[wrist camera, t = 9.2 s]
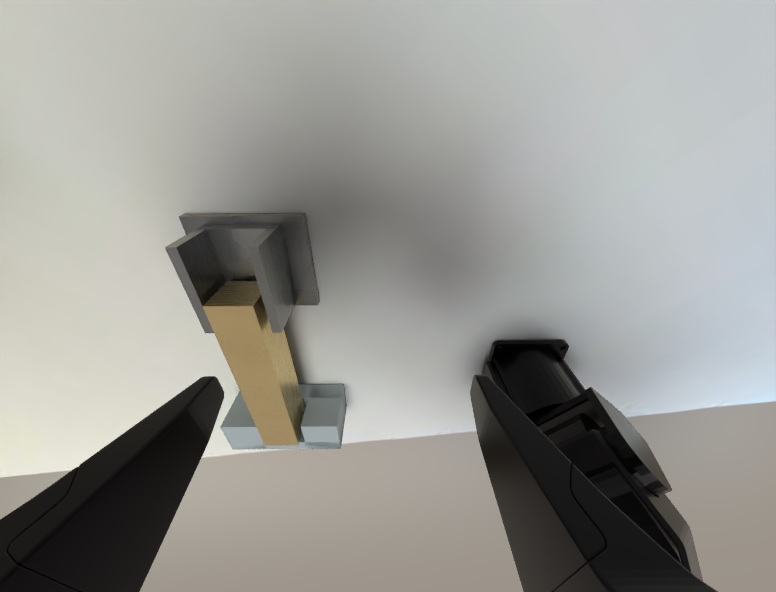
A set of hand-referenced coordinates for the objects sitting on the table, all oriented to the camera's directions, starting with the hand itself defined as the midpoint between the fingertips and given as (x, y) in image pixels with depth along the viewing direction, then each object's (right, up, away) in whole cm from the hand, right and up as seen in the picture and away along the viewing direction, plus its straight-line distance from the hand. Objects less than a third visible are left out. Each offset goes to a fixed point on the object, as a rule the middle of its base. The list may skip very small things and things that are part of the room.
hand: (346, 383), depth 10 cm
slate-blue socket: (-8, -7, +19) cm, 22 cm away
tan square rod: (-8, -2, +13) cm, 16 cm away
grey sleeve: (-8, +6, +11) cm, 14 cm away
